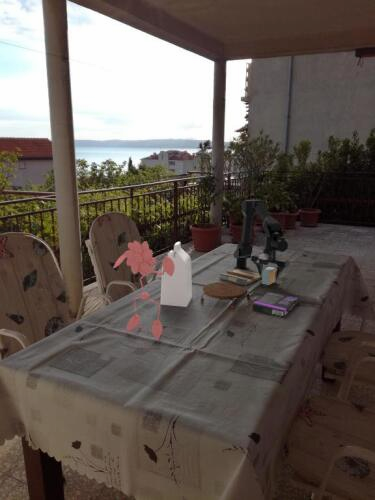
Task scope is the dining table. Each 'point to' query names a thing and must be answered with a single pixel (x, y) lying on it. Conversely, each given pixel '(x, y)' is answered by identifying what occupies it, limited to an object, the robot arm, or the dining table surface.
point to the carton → (268, 276)
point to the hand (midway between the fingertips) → (268, 277)
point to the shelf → (240, 276)
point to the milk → (177, 279)
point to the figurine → (142, 263)
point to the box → (275, 303)
